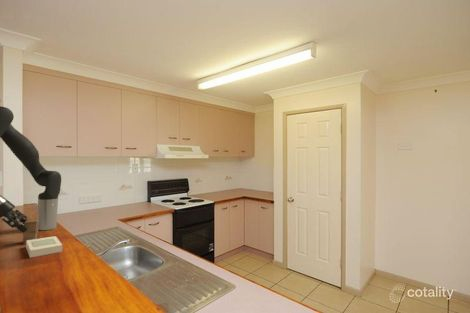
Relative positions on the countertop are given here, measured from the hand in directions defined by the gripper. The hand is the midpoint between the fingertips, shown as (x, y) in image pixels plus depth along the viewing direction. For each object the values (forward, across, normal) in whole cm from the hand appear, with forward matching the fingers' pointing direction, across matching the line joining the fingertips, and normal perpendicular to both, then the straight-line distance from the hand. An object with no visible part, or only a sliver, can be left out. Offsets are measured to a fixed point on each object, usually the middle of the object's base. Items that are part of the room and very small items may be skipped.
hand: (28, 228), depth 119 cm
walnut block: (+5, 0, +4) cm, 7 cm away
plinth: (+11, -13, -2) cm, 17 cm away
